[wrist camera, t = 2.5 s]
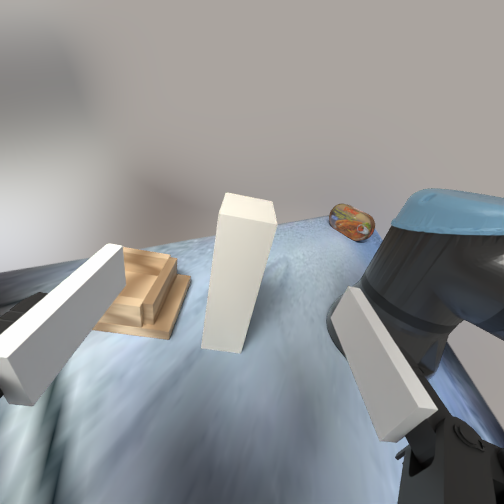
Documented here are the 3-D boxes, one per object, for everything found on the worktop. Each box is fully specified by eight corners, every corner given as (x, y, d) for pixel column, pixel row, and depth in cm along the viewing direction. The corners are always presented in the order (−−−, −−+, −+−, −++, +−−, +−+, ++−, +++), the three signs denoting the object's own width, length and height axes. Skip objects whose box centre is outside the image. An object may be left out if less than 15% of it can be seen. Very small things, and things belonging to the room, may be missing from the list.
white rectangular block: (242, 316, 33) (272, 201, 24) (240, 353, 28) (277, 224, 19) (208, 312, 33) (226, 192, 24) (200, 348, 28) (218, 213, 18)
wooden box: (190, 283, 37) (191, 258, 35) (168, 339, 28) (169, 311, 25) (101, 269, 36) (96, 242, 33) (47, 324, 26) (35, 292, 24)
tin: (325, 223, 75) (334, 199, 71) (331, 222, 77) (341, 199, 73) (361, 246, 65) (375, 219, 61) (368, 245, 66) (382, 219, 62)
